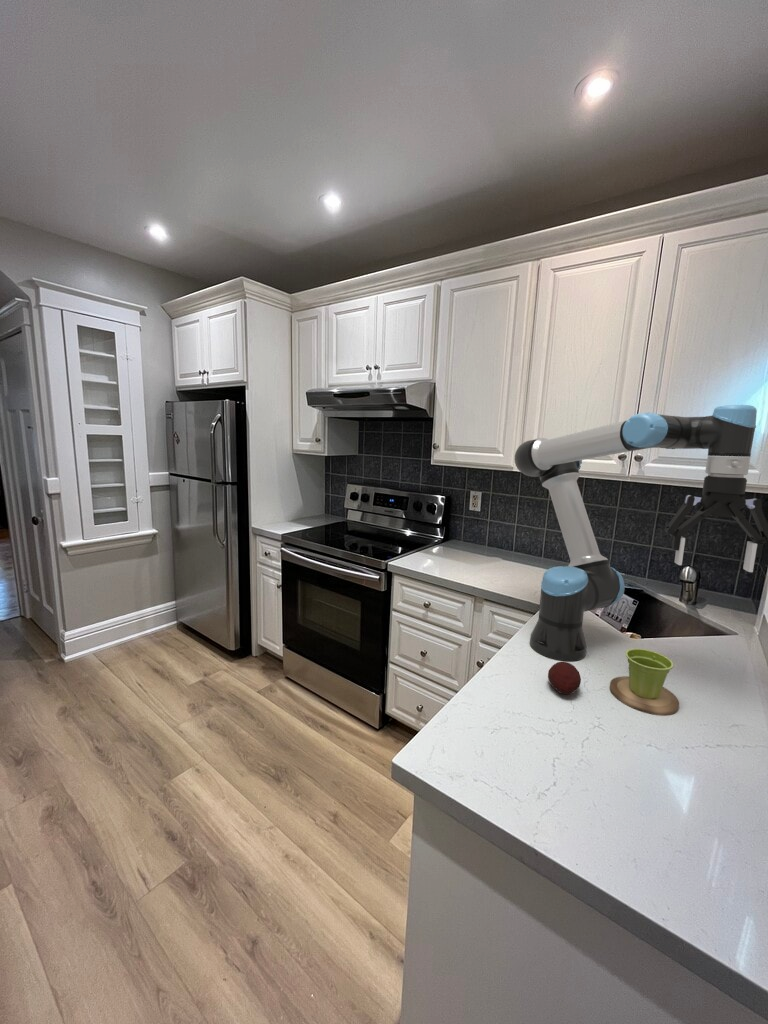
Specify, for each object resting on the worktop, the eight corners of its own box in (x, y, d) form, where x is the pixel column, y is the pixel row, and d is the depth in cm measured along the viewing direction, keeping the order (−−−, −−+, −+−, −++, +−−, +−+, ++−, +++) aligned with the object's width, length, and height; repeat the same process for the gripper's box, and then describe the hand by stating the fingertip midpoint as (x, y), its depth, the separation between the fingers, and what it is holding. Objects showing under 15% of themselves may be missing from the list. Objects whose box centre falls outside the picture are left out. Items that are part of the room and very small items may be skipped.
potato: (576, 681, 105) (579, 658, 104) (582, 704, 96) (585, 679, 95) (545, 675, 108) (548, 653, 107) (548, 697, 98) (550, 673, 97)
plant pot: (668, 709, 93) (674, 673, 92) (620, 694, 98) (624, 660, 97) (667, 689, 101) (672, 656, 100) (622, 676, 106) (626, 644, 105)
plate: (617, 707, 95) (618, 703, 95) (603, 675, 108) (604, 671, 108) (689, 720, 91) (689, 716, 91) (665, 686, 105) (666, 681, 104)
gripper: (666, 474, 95) (654, 565, 98) (805, 479, 87) (788, 578, 90) (657, 472, 102) (646, 557, 105) (785, 477, 94) (769, 569, 97)
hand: (712, 567), depth 98 cm, fingers open, 13 cm apart
